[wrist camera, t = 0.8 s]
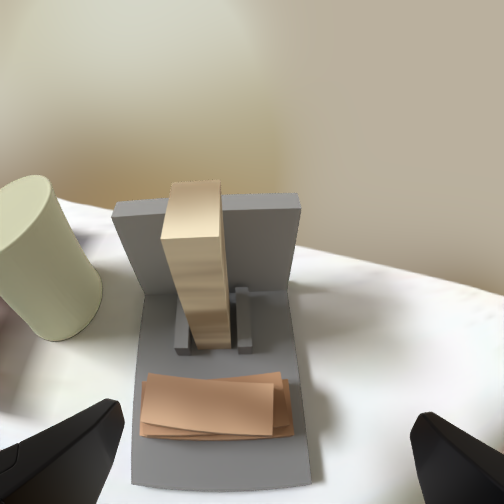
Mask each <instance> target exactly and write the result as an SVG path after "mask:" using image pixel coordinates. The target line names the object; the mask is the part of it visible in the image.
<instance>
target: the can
mask: <svg viewBox="0 0 504 504" xmlns="http://www.w3.org/2000/svg"><path fill="white" fill-rule="evenodd" d="M0 296H1V297H2V298H3V299H4V300H5V301H6V302H7V304H8V305H9V306H10V307H11V308H12V309H13V310H14V311H15V312H16V313H17V314H18V315H19V316H20V317H21V318H22V319H23V320H24V321H25V322H26V323H27V324H28V325H29V326H30V327H31V329H32V330H33V331H34V333H35V334H37V335H38V336H39V337H41V338H43V339H45V340H49V341H61V340H65V339H68V338H70V337H73V336H74V335H76V334H78V333H79V332H80V331H82V330H83V329H84V328H85V327H86V326H87V325H88V324H89V323H90V322H91V320H92V319H93V317H94V316H95V314H96V312H97V310H98V308H99V306H100V302H101V299H102V282H101V278H100V276H99V274H98V272H97V271H96V270H95V269H94V268H93V267H92V265H91V264H90V262H89V260H88V259H87V257H86V255H85V253H84V252H83V250H82V248H81V246H80V245H79V243H78V241H77V239H76V237H75V235H74V233H73V231H72V229H71V227H70V225H69V223H68V221H67V219H66V217H65V215H64V213H63V211H62V209H61V207H60V204H59V202H58V200H57V198H56V195H55V193H54V190H53V187H52V184H51V182H50V180H49V179H48V178H46V177H44V176H41V175H32V176H26V177H23V178H20V179H17V180H15V181H13V182H11V183H9V184H8V185H6V186H4V187H3V188H1V189H0Z"/></svg>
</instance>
